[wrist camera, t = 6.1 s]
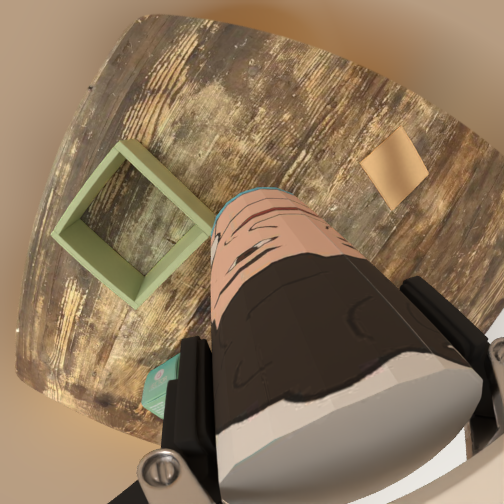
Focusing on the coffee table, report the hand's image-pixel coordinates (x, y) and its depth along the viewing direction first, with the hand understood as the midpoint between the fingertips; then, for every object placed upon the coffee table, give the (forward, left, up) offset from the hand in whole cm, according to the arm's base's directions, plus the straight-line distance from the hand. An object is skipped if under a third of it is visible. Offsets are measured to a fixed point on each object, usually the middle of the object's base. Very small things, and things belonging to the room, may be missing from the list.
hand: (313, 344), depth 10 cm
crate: (+10, -7, -26) cm, 28 cm away
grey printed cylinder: (0, 0, -10) cm, 10 cm away
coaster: (-17, +11, -26) cm, 32 cm away
